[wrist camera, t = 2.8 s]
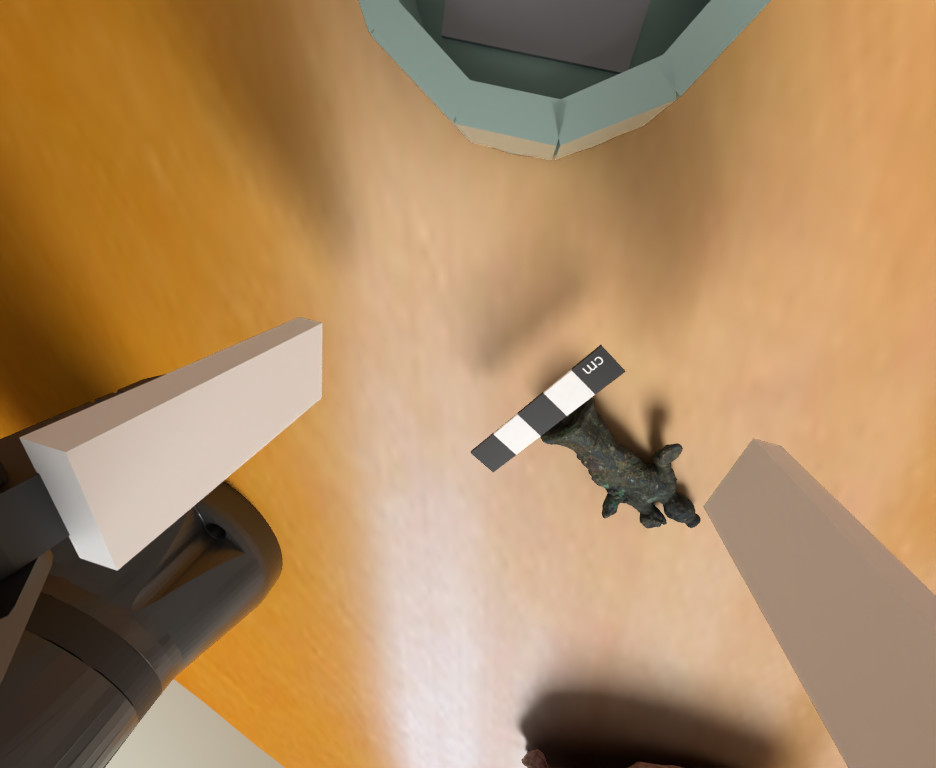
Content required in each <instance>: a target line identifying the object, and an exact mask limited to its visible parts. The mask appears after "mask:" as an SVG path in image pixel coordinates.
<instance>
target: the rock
mask: <svg viewBox="0 0 936 768" xmlns="http://www.w3.org/2000/svg"><path fill="white" fill-rule="evenodd" d="M522 763H523V764H524V765H525V766H527V767H528V768H548V765H547V762H546V759H545V757H544V754H543V753H542V752H541V751H540V750H538V749H537V750H533V751H532V750H528V752H527V754H526V755H525V756H524V758H523V759H522ZM628 768H683V767H679V766H674V765H657V764H651V763H644V762H636V763H635V764H634V765H632V766H631V767H628Z"/></svg>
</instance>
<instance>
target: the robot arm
mask: <svg viewBox="0 0 936 768" xmlns="http://www.w3.org/2000/svg"><path fill="white" fill-rule="evenodd" d="M321 398H322V323H320V322H317V321H313V320H309V319H305V318H302V317H298V318H296V319H294V320H291V321H289V322H287V323H284V324H282V325H280V326H277V327H275V328H273V329H270V330H268V331H266V332H263V333H261V334H259V335H256V336H254V337H252V338H249V339H247V340H245V341H242V342H240V343H238V344H235V345H233V346H231V347H229V348H226V349H224V350H222V351H219V352H217V353H215V354H212V355H210V356H208V357H205V358H203V359H201V360H198V361H196V362H194V363H191V364H189V365H187V366H184V367H182V368H180V369H177V370H175V371H173V372H170V373H168V374H164V375H160V376H156V377H151V378H147V379H143V380H141V381H138V382H136V383H133V384H131V385H129V386H126V387H124V388H122V389H119V390H118V391H117V393H113V392H112V393H110V394H107V395H105V396H102V397H100V398H98V399H95V402H94V403H91V402H88V403H86V404H83V405H81V406H79V407H76V408H74V409H71V410H69V411H67V412H64V413H62V414H59V415H57V416H55V417H52V418H50V419H47V420H45V421H43V422H40V423H38V424H36V425H33V426H31V427H28V428H26V429H24V430H21V431H19V432H16V433H14V434H12V435H9V436H7V437H4V438H2V439H0V768H105V767H106V765H107V764H108V763H109V761H110V760H111V759H112V757H113V756H114V754H115V753H116V752H117V751H118V749H119V748H120V747H121V745H122V744H123V743H124V741H125V740H126V739H127V738H128V736H129V735H130V734H131V732H132V731H133V730H134V728H135V727H136V726H137V724H138V723H139V722H140V720H141V719H142V718H143V716H144V715H145V714H146V713H147V711H148V710H149V709H150V707H151V706H152V705H153V704H154V702H155V701H156V700H157V698H158V697H159V696H160V695H161V694H162V692H163V691H164V690H165V688H166V687H167V686H168V685H169V683H170V682H171V681H172V680H173V679H174V678H175V677H176V676H177V675H178V674H179V673H180V672H181V671H182V670H183V669H185V668H186V667H187V666H188V665H189V664H191V663H192V662H193V661H194V660H195V659H196V658H198V657H199V656H200V655H201V654H202V653H203V652H205V651H206V650H207V649H208V648H209V647H210V646H212V645H213V644H214V643H215V642H216V641H217V640H219V639H220V638H221V637H222V636H223V635H225V634H226V633H227V632H228V631H229V630H230V629H232V628H233V627H234V626H235V625H236V624H237V623H239V622H240V621H241V620H242V619H243V618H244V617H246V616H247V615H248V614H249V613H250V612H251V611H253V610H254V609H255V608H256V607H257V606H258V605H259V604H260V603H261V602H262V601H263V600H264V598H265V597H266V595H267V594H268V593H269V591H270V590H271V588H272V587H273V586H274V584H275V583H276V581H277V580H278V578H279V576H280V574H281V570H282V554H281V549H280V546H279V543H278V541H277V538H276V536H275V534H274V533H273V531H272V529H271V528H270V526H269V525H268V523H267V522H266V520H265V519H264V518H263V516H262V515H261V514H260V513H259V512H258V510H257V509H256V508H255V507H254V506H253V505H252V504H251V503H250V502H249V501H248V500H247V499H246V498H245V497H243V496H242V495H241V494H240V493H239V492H238V491H236V490H235V489H234V488H232V487H231V486H230V485H228V484H227V483H226V482H224V480H225V479H226V478H228V477H229V476H230V475H231V474H232V473H234V472H235V471H236V470H237V469H238V468H239V467H241V466H242V465H243V464H244V463H245V462H247V461H248V460H249V459H250V458H251V457H252V456H254V455H255V454H256V453H257V452H258V451H260V450H261V449H262V448H263V447H264V446H265V445H267V444H268V443H269V442H270V441H271V440H273V439H274V438H275V437H276V436H277V435H278V434H280V433H281V432H282V431H283V430H284V429H286V428H287V427H288V426H289V425H290V424H292V423H293V422H294V421H295V420H296V419H297V418H299V417H300V416H301V415H302V414H303V413H305V412H306V411H307V410H308V409H309V408H310V407H312V406H313V405H314V404H315V403H316V402H318V401H319V400H320V399H321ZM703 507H704V509H705V510H706V512H707V514H708V516H709V518H710V519H711V521H712V523H713V525H714V527H715V528H716V530H717V532H718V534H719V536H720V537H721V539H722V541H723V543H724V545H725V546H726V548H727V550H728V552H729V554H730V555H731V557H732V559H733V561H734V563H735V564H736V566H737V568H738V570H739V572H740V573H741V575H742V577H743V579H744V581H745V582H746V584H747V586H748V588H749V590H750V591H751V593H752V595H753V597H754V599H755V600H756V602H757V604H758V606H759V608H760V609H761V611H762V613H763V615H764V617H765V618H766V620H767V622H768V624H769V626H770V627H771V629H772V631H773V633H774V635H775V636H776V638H777V640H778V642H779V644H780V645H781V647H782V649H783V651H784V653H785V654H786V656H787V658H788V660H789V662H790V663H791V665H792V667H793V669H794V671H795V672H796V674H797V676H798V678H799V680H800V682H801V683H802V685H803V687H804V689H805V691H806V692H807V694H808V696H809V698H810V700H811V701H812V703H813V705H814V707H815V709H816V710H817V712H818V714H819V716H820V718H821V719H822V721H823V723H824V725H825V727H826V728H827V730H828V732H829V734H830V736H831V737H832V739H833V741H834V743H835V745H836V746H837V748H838V750H839V752H840V754H841V755H842V757H843V759H844V761H845V763H846V764H847V766H848V768H936V596H935V595H934V594H933V593H932V592H931V591H930V590H929V589H928V588H927V587H926V586H925V585H924V584H923V583H922V582H921V581H920V580H919V579H918V578H917V577H916V576H915V575H914V574H913V573H912V572H911V571H910V570H909V569H908V568H906V567H905V566H904V565H903V564H902V563H901V562H900V561H899V560H898V559H897V558H896V557H895V556H894V555H893V554H892V553H891V552H890V551H889V550H888V549H887V548H886V547H885V546H884V545H883V544H882V543H881V542H880V541H879V540H878V539H877V538H875V537H874V536H873V535H872V534H871V533H870V532H869V531H868V530H867V529H866V528H865V527H864V526H863V525H862V524H861V523H860V522H859V521H858V520H857V519H856V518H855V517H854V516H853V515H852V514H851V513H850V512H849V511H848V510H847V509H846V508H845V507H843V506H842V505H841V504H840V503H839V502H838V501H837V500H836V499H835V498H834V497H833V496H832V495H831V494H830V493H829V492H828V491H827V490H826V489H825V488H824V487H823V486H822V485H821V484H820V483H819V482H818V481H817V480H816V479H815V478H814V477H813V476H811V475H810V474H809V473H808V472H807V471H806V470H805V469H804V468H803V467H802V466H801V465H800V464H799V463H798V462H797V461H796V460H795V459H794V458H793V457H792V456H791V455H790V454H789V453H788V452H787V451H786V450H785V449H784V448H783V447H782V446H779V445H776V444H772V443H768V442H764V441H761V440H757V439H753V440H752V441H751V442H750V444H749V445H748V446H747V448H746V449H745V450H744V452H743V453H742V455H741V456H740V457H739V459H738V460H737V461H736V463H735V464H734V465H733V467H732V468H731V469H730V471H729V472H728V474H727V475H726V476H725V478H724V479H723V480H722V482H721V483H720V484H719V486H718V487H717V488H716V490H715V491H714V493H713V494H712V495H711V497H710V498H709V499H708V501H707V502H706V503H705V505H704V506H703Z"/></svg>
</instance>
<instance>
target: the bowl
mask: <svg viewBox="0 0 936 768" xmlns="http://www.w3.org/2000/svg"><path fill="white" fill-rule="evenodd" d="M358 1H359V4H360V7H361V10H362V13H363V16H364V19H365V22H366V25H367V28H368V31H369V33H370V34H371V36H372V37H373V38H374V39H375V41H376V42H377V43H378V44H379V45H380V46H381V47H382V48H383V49H384V50H385V52H386V53H387V54H388V55H389V56H390V57H391V58H392V59H393V60H394V61H395V63H396V64H397V65H398V66H399V67H400V68H401V69H402V70H403V71H404V72H405V74H406V75H407V76H408V77H409V78H410V79H411V80H412V81H413V82H414V83H415V84H416V85H417V86H418V87H419V88H420V89H421V91H422V92H423V93H424V94H425V95H426V96H427V97H428V98H429V99H430V100H431V101H432V102H433V103H434V104H435V105H436V106H437V108H438V109H439V110H440V111H441V112H442V113H443V114H444V115H445V116H446V117H447V118H448V119H449V120H450V121H451V122H452V123H453V124H454V126H455V127H456V128H457V129H458V130H459V131H460V132H461V133H462V134H463V135H464V136H465V137H466V138H467V139H468V140H469V141H471V142H472V143H474V144H479V145H483V146H488V147H491V148H493V149H497V150H500V151H503V152H506V153H510V154H513V155H520V156H527V157H537V158H541V159H546V160H550V161H552V158H553V157H554V160H557V159H560V158H562V157H565V156H567V155H570V154H573V153H577V152H580V151H583V150H586V149H589V148H593V147H595V146H598V145H600V144H602V143H604V142H606V141H608V140H611V139H613V138H615V137H617V136H619V135H621V134H624V133H627V132H629V131H632V130H634V129H637V128H640V127H642V126H644V125H645V124H647V123H648V122H649V121H651V120H652V119H653V118H654V117H656V116H657V115H658V114H659V113H661V112H662V111H663V110H664V109H666V108H667V107H668V106H669V105H671V104H672V103H673V102H674V101H676V100H677V99H678V98H679V97H681V95H682V94H683V93H684V92H685V91H686V90H687V89H688V88H689V87H690V86H691V85H692V84H693V83H694V82H695V81H696V80H697V79H698V77H699V76H700V75H701V74H702V73H703V72H704V71H705V70H706V69H707V68H708V67H709V66H710V65H711V64H712V63H713V62H714V60H715V59H716V58H717V57H718V56H719V55H720V54H721V53H722V52H723V51H724V50H725V49H726V48H727V47H728V46H729V45H730V44H731V42H732V41H733V40H734V39H735V38H736V37H737V36H738V35H739V34H740V33H741V32H742V31H743V30H744V29H745V28H746V27H747V25H748V24H749V23H750V22H751V21H752V20H753V19H754V18H755V17H756V16H757V15H758V14H759V13H760V12H761V11H762V10H763V8H764V7H765V6H766V5H767V4H768V3H769V2H770V1H771V0H358Z"/></svg>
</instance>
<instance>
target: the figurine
mask: <svg viewBox="0 0 936 768" xmlns="http://www.w3.org/2000/svg"><path fill="white" fill-rule="evenodd" d="M624 372H625V370H624V369H623V368H622V367H621V366H620V365H619V364H618V363H617V362H616V360H615V359H614V358H613V357H612V356H611V355H610V354H609V353H608V352H607V351H606V350H605V349H604V348H603V347H602V346H601V345H600V346H599V347H597V348H596V349H595V350H594V351H593V352H591V353H590V354H589V355H588V356H586V357H585V358H584V359H583V360H582V361H580V362H579V363H578V364H577V365H575V366H574V367H573V368H572V369H571V370H569V371H568V372H567V373H566V374H564V375H563V376H562V377H561V378H560V379H558V380H557V381H556V382H555V383H553V384H552V385H551V386H550V387H549V388H547V389H546V390H545V391H544V392H543V393H541V394H540V395H539V396H538V397H536V398H535V399H534V400H533V401H532V402H530V403H529V404H528V405H527V406H525V407H524V408H523V409H522V410H521V411H519V412H518V413H517V414H516V415H514V416H513V417H512V418H511V419H510V420H508V421H507V422H506V423H505V424H503V425H502V426H501V427H500V428H499V429H497V430H496V431H495V432H494V433H493V434H491V435H490V436H489V437H488V438H486V439H485V440H484V441H483V442H482V443H480V444H479V445H478V446H477V447H475V448H474V449H473V450H472V451H471V454H473V455H474V456H475V457H476V458H477V459H478V460H480V461H481V462H482V463H483V464H484V465H485V466H486V467H488V468H489V469H490V470H491V471H492V472H494V471H496V470H497V469H498V468H500V467H501V466H502V465H504V464H505V463H506V462H507V461H509V460H510V459H511V458H513V457H514V456H515V455H517V454H518V453H519V452H521V451H522V450H523V449H524V448H526V447H527V446H528V445H530V444H531V443H532V442H534V441H535V440H536V439H538V438H539V437H540V436H541V439H542V441H543V442H545V443H547V444H551V445H552V444H557V445H562V446H565V447H568V448H570V449H572V450H574V451H575V452H576V454H577V458H578V459H579V460H581V462H582V464H583V465H584V466H586V468H588V469H589V470H588V471H589V474H590V475H591V476H592V480H593V481H594V482H595V483H596V484H597V485H599V486H601V487H604V488H605V489H606V491H607V492H608V494H607V496H606V498H605V500H604V503H603V510H602V516H603V518H608V517H609V516H611V515H614V514H615V513H616V512H617V508H618V505H619V503H627V504H629V505H632V506H633V507H634V508H635V509H637V510H638V511H639V512H640V522H641V523H642V524H643V525H644V526H645V527H646V528H653V527H658V526H659V527H660V526H661V524H663V525H664V524H667V523H666V519H665V517H664V515H663V514H662V513H661V511H660V510H659V509H658V508H657V507H656V506H655V505H654V503H652V502H655V501H659V502H661V503H662V504H663V507H664V512H665V514H666V515H667V517H668V518H671V519H674V520H675V521H677V522H681V523H686V525H687V526H688V527H690V528H693V527H695V526H697V525H698V524H699V523H700V517H699V515H697V514H695V508H694V505H693V503H692V502H691V501H690V500H689V499H687V497H685V496H684V495H682V494H679V493H676V482H677V481H676V480H677V479H676V477H675V474H674V471H673V469H672V468H671V463H670V462H672V461H674V460H675V459H676V458H677V457H678V456H679V455H680V454H681V452H682V449H683V448H682V446H681V445H680V444H671V445H666V446H664V448H663V449H661V450H659V451H657V452H656V453H655V455H654V456H653V459H654V462H655V465H653V464H645V463H644V462H643V461H641V460H640V458H639V457H638V456H637V455H636V454H635V453H633V452H632V451H631V450H629V449H628V448H626V447H625V446H623V445H621V444H619V443H618V442H617V441H616V440H615V439H614V438H613V437H612V435H611V433H610V432H609V430H608V428H607V426H606V424H605V422H604V421H603V420H602V418H601V416H600V415H599V414H598V413H597V412H596V410H595V408H594V404H595V401H594V398H592V397H593V396H594V395H595V394H597V393H598V392H599V391H600V390H602V389H603V388H604V387H606V386H607V385H608V384H610V383H611V382H612V381H614V380H615V379H616V378H617V377H619V376H620V375H621V374H623V373H624Z"/></svg>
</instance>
